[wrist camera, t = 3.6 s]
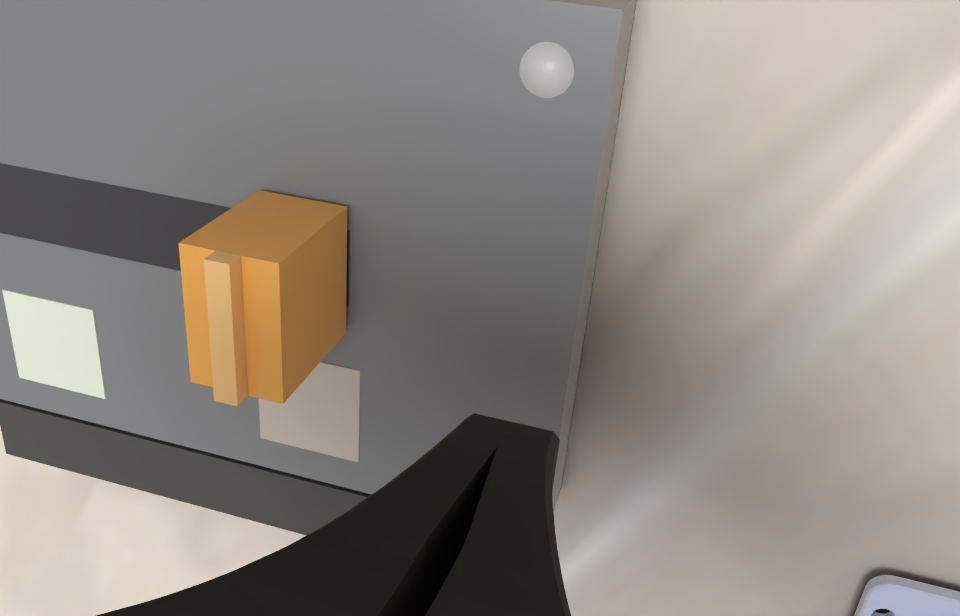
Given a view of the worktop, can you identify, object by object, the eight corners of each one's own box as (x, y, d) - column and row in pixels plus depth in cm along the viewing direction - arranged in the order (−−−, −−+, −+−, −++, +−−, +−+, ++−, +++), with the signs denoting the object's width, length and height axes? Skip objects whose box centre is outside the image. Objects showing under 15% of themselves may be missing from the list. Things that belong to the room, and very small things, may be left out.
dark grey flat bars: (497, 534, 24) (478, 581, 22) (49, 419, 27) (6, 453, 25) (576, -154, 16) (556, -156, 15) (-64, -213, 19) (-137, -219, 18)
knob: (346, 332, 20) (273, 415, 17) (264, 315, 20) (179, 392, 17) (347, 206, 18) (267, 272, 15) (259, 190, 19) (165, 251, 16)
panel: (561, 487, 23) (543, 540, 21) (-5, 349, 26) (-60, 384, 24) (637, -6, 17) (622, 10, 15) (-97, -97, 21) (-177, -93, 19)
